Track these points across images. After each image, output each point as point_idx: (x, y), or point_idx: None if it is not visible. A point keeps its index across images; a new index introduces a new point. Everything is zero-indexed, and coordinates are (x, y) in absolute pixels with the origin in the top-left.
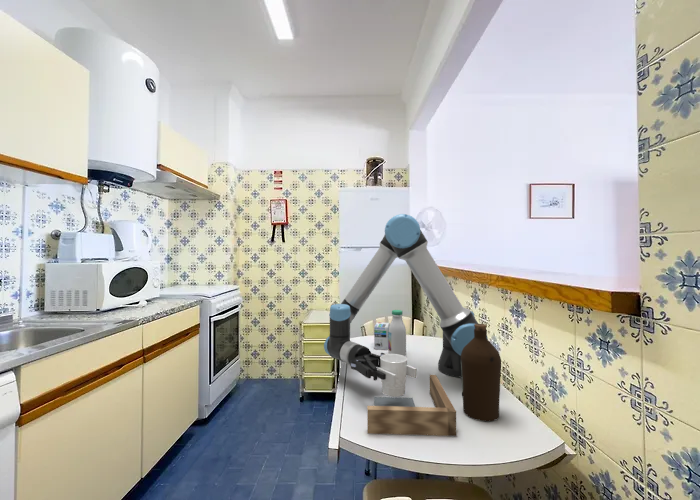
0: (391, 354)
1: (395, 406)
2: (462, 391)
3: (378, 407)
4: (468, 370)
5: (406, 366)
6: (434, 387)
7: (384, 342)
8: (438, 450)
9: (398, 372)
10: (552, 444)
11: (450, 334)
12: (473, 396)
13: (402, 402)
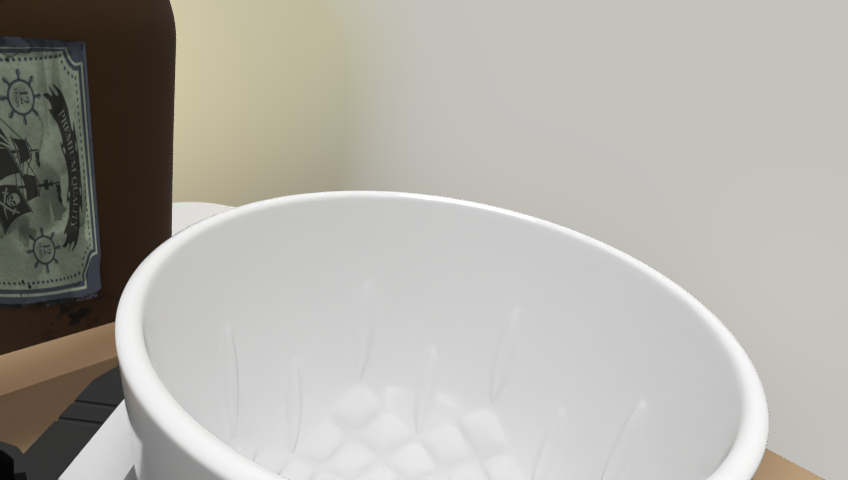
0: (202, 435)
1: None
2: (86, 266)
3: (770, 473)
4: (158, 87)
5: (340, 278)
6: (39, 406)
7: None
8: None
9: (491, 336)
10: (211, 207)
11: None
12: (168, 221)
13: None
